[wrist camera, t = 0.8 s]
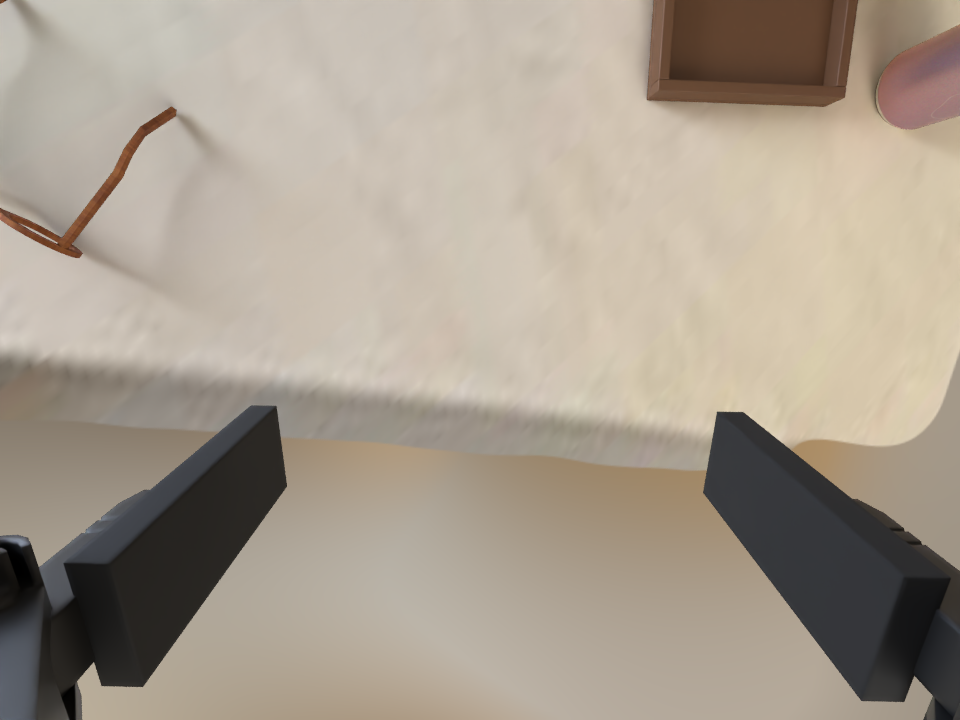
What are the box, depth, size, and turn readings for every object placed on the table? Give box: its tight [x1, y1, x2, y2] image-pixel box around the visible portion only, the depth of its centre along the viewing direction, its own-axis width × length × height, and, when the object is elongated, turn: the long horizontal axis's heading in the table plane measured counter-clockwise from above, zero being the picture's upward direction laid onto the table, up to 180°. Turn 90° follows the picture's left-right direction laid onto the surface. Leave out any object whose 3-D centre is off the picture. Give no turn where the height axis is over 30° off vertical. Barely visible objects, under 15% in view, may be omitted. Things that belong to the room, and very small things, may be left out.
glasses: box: [0, 0, 176, 258], centre depth 32 cm, size 13×13×5 cm
